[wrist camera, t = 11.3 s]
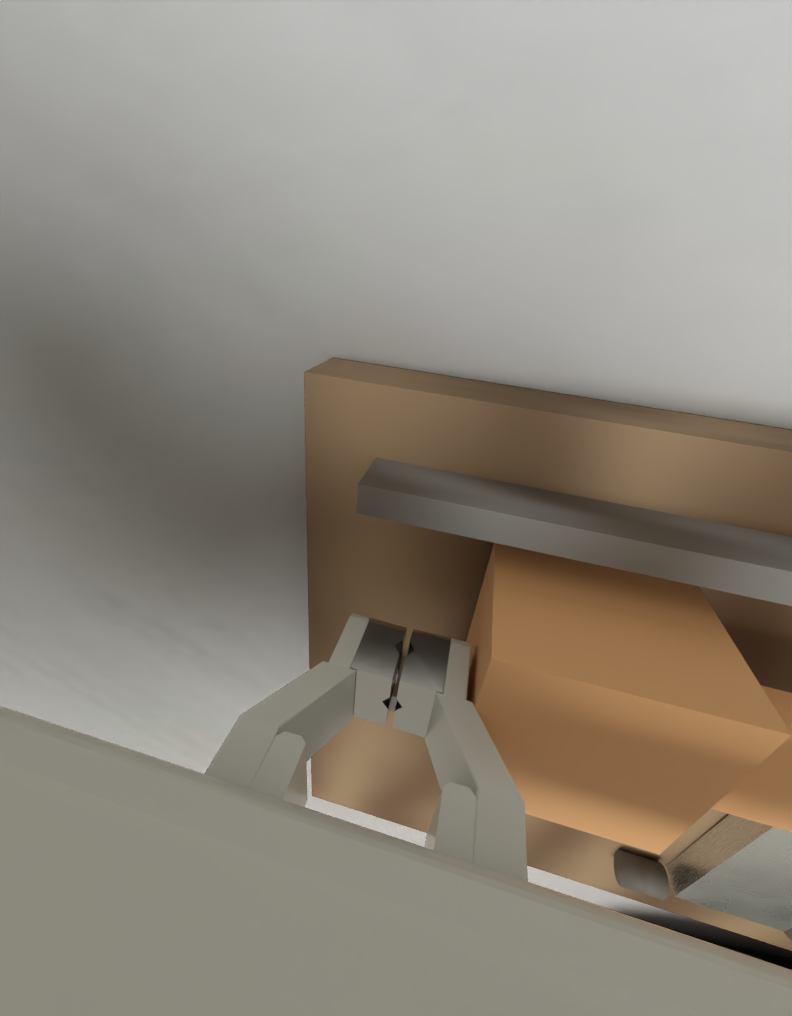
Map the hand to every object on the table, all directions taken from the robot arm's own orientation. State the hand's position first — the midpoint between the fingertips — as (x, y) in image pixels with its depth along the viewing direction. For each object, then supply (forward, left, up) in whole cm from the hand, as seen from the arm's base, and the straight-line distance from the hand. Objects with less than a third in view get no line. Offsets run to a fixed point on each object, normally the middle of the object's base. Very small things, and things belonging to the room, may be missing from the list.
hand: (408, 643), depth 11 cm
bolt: (+8, 0, -2) cm, 8 cm away
